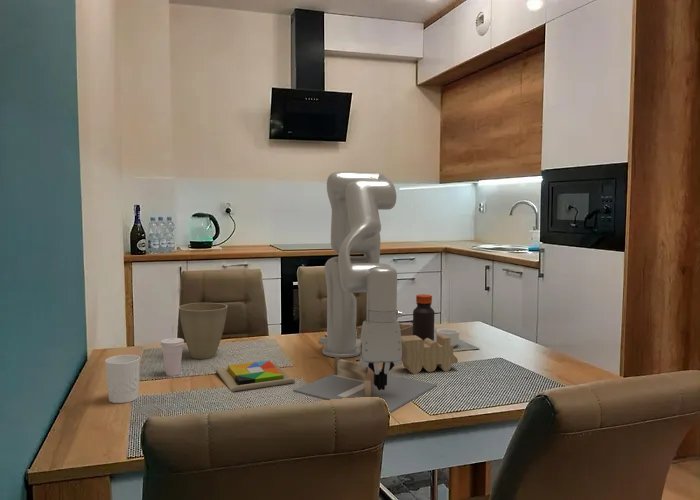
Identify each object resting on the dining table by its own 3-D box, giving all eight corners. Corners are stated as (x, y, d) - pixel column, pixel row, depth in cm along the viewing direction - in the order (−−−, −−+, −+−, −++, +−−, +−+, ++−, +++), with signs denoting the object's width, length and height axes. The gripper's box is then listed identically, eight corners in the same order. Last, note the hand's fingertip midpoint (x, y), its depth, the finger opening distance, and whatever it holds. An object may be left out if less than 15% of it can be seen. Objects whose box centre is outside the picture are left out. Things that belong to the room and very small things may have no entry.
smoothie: (189, 372, 159) (188, 323, 158) (175, 378, 153) (174, 328, 152) (170, 369, 161) (169, 322, 160) (156, 376, 155) (155, 326, 154)
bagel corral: (356, 338, 202) (356, 327, 202) (378, 330, 215) (379, 320, 215) (393, 344, 194) (393, 333, 193) (414, 336, 206) (414, 325, 206)
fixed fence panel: (376, 382, 150) (376, 364, 150) (372, 384, 149) (372, 365, 148) (336, 373, 158) (336, 356, 157) (332, 375, 156) (333, 357, 156)
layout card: (293, 391, 143) (293, 389, 143) (350, 367, 165) (350, 366, 165) (386, 415, 127) (386, 413, 127) (436, 385, 149) (436, 384, 149)
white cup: (112, 393, 140) (111, 354, 139) (144, 393, 141) (143, 354, 140) (101, 404, 132) (100, 363, 132) (135, 404, 133) (134, 363, 132)
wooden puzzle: (232, 395, 142) (232, 381, 142) (214, 374, 158) (214, 362, 158) (296, 385, 150) (296, 372, 150) (272, 367, 167) (272, 355, 166)
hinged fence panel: (368, 383, 148) (368, 366, 148) (374, 383, 148) (374, 366, 148) (364, 399, 136) (364, 381, 135) (370, 399, 136) (371, 381, 135)
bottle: (427, 354, 181) (429, 293, 179) (437, 359, 175) (438, 296, 173) (408, 355, 179) (409, 294, 177) (417, 361, 172) (419, 297, 171)
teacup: (463, 347, 190) (463, 332, 189) (444, 350, 187) (444, 334, 186) (446, 341, 199) (447, 326, 199) (428, 343, 196) (428, 328, 195)
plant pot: (204, 365, 166) (203, 312, 165) (169, 357, 174) (168, 307, 172) (237, 353, 179) (237, 305, 178) (203, 347, 186) (203, 300, 185)
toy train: (457, 370, 163) (458, 337, 162) (402, 374, 159) (403, 340, 158) (449, 365, 169) (450, 333, 168) (396, 369, 164) (396, 335, 164)
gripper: (407, 313, 143) (405, 382, 145) (349, 314, 141) (349, 384, 143) (414, 318, 136) (413, 392, 137) (354, 320, 134) (353, 394, 135)
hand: (380, 388), depth 140 cm, fingers closed
